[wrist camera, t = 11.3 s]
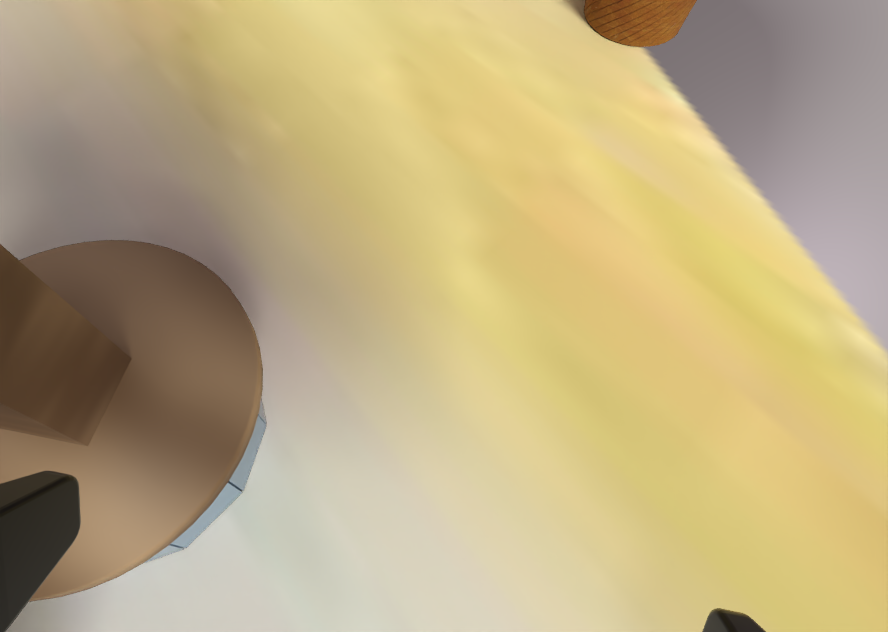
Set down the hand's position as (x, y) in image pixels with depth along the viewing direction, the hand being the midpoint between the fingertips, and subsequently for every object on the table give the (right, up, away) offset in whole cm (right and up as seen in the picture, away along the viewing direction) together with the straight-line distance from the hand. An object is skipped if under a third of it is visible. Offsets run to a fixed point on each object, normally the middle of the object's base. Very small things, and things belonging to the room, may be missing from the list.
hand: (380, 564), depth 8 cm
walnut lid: (-11, +1, +11) cm, 16 cm away
